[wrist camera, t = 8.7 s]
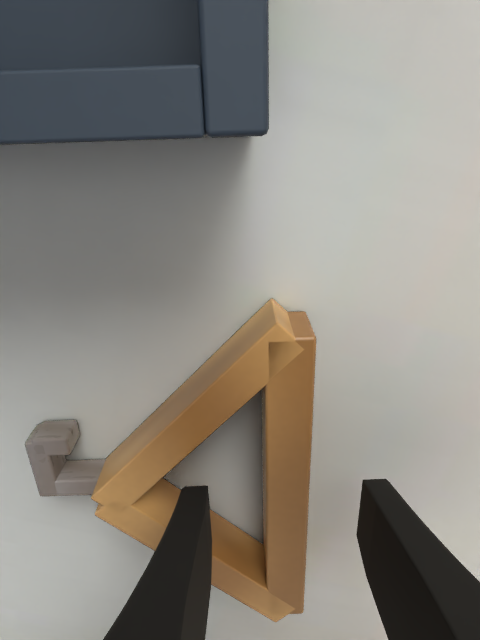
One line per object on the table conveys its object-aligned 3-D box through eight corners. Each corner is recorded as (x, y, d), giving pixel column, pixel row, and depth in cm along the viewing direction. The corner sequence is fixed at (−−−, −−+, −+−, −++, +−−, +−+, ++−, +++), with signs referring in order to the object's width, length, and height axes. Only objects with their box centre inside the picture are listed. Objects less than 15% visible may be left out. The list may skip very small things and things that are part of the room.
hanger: (81, 582, 15) (64, 629, 14) (5, 306, 11) (-31, 333, 9) (296, 575, 15) (303, 622, 14) (306, 296, 11) (318, 322, 9)
